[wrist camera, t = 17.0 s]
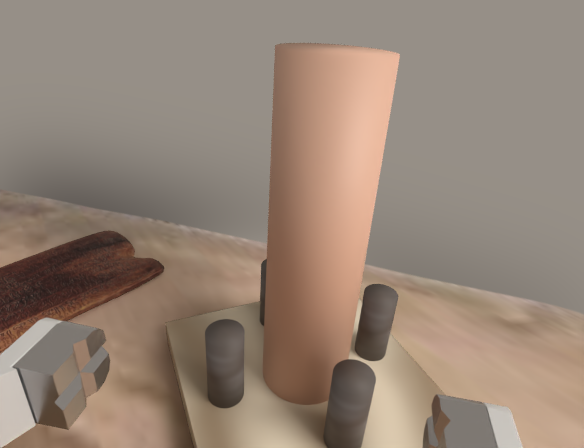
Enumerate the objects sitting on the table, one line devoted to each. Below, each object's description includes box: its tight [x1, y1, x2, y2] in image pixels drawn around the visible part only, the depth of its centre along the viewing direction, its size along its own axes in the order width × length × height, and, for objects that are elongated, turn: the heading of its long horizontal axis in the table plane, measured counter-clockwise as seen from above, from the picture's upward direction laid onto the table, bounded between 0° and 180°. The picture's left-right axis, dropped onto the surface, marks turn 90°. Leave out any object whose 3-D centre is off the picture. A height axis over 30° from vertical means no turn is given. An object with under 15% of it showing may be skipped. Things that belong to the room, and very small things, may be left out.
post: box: [263, 43, 400, 405], centre depth 21 cm, size 5×5×18 cm
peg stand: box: [166, 259, 445, 448], centre depth 25 cm, size 14×14×6 cm
